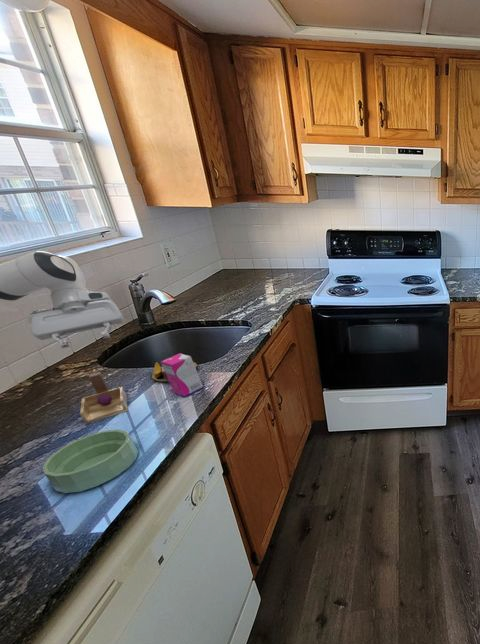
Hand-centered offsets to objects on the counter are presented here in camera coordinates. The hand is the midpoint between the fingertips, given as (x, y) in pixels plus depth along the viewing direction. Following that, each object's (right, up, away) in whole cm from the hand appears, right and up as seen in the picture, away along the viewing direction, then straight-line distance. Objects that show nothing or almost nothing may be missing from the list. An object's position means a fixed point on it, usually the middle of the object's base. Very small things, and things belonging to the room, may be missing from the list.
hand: (86, 342), depth 111 cm
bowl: (+30, -29, -27) cm, 50 cm away
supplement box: (+30, -15, +2) cm, 34 cm away
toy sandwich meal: (+19, -11, +12) cm, 25 cm away
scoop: (+11, -19, -5) cm, 23 cm away
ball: (+10, -17, -5) cm, 20 cm away
